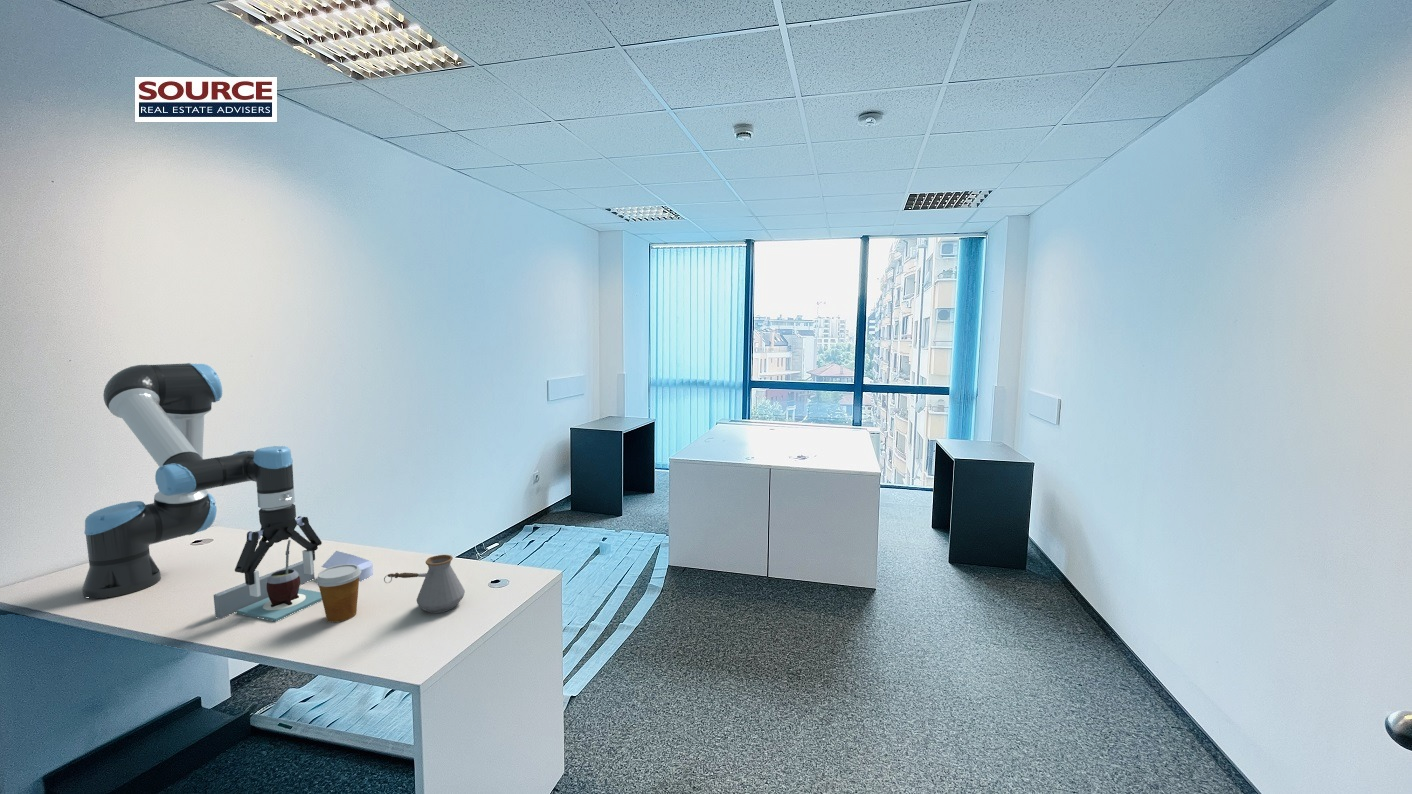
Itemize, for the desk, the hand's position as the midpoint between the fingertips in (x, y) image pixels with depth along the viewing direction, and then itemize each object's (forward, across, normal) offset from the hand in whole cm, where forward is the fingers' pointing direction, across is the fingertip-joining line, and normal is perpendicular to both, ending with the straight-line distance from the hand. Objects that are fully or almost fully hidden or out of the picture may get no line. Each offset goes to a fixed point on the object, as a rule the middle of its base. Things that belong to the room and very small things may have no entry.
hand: (283, 584), depth 142 cm
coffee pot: (+6, +7, -40) cm, 41 cm away
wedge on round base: (+6, +19, 0) cm, 20 cm away
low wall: (+6, +2, +9) cm, 11 cm away
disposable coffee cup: (+6, 0, -20) cm, 21 cm away
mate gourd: (+5, 0, 0) cm, 5 cm away
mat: (+6, 0, 0) cm, 6 cm away
